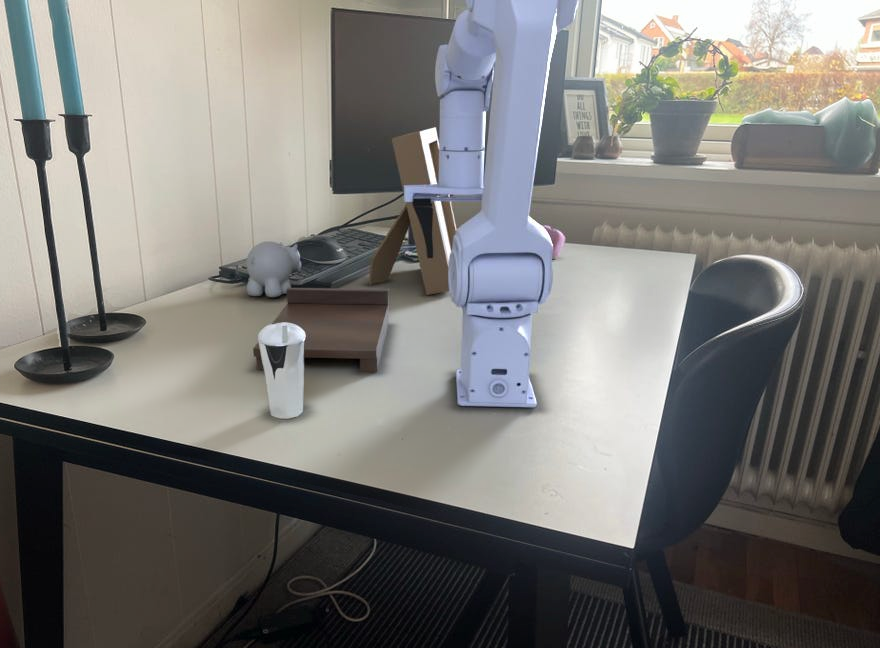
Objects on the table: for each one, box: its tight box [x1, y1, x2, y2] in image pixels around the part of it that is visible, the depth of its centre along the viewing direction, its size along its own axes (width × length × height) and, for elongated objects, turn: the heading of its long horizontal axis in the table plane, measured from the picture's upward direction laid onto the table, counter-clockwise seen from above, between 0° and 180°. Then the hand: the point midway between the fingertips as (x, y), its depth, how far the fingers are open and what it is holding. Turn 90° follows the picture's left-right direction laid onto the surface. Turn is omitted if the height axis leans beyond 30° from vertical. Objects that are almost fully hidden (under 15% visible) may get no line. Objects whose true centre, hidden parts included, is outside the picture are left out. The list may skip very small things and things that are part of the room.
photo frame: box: [368, 126, 458, 296], centre depth 120 cm, size 15×22×25 cm
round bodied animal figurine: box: [245, 241, 302, 298], centre depth 114 cm, size 7×12×8 cm, turn 152°
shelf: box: [252, 287, 390, 373], centre depth 89 cm, size 20×14×5 cm
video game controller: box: [540, 224, 566, 260], centre depth 143 cm, size 10×5×7 cm, turn 58°
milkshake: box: [257, 322, 306, 420], centre depth 69 cm, size 4×5×10 cm
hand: (458, 256), depth 94 cm, fingers open, 7 cm apart
